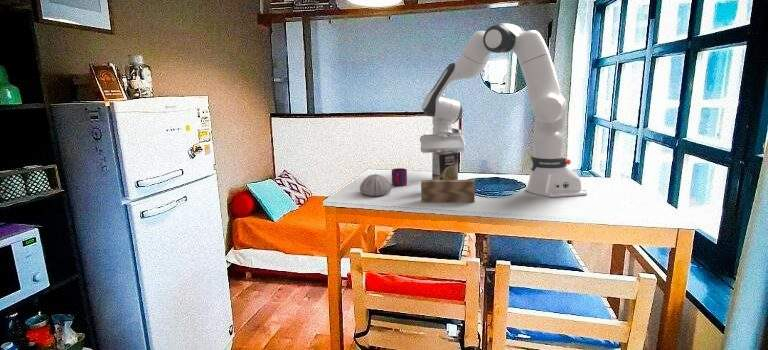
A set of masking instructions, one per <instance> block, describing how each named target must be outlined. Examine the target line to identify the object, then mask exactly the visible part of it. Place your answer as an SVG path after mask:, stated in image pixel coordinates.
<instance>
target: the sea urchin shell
mask: <svg viewBox="0 0 768 350" xmlns="http://www.w3.org/2000/svg"><path fill="white" fill-rule="evenodd" d="M391 190H392V183H391V182H390V180H389V179H388V178H387V177H385V176H383V175H381V174H375V173H374V174H370V175H368V176H366V178H364V179H363V180H362V182H361V183H360V185H359V191H360V194H362V195H365V196H370V197H380V196H384V195H387V194H389V193H390V192H391Z"/></svg>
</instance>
